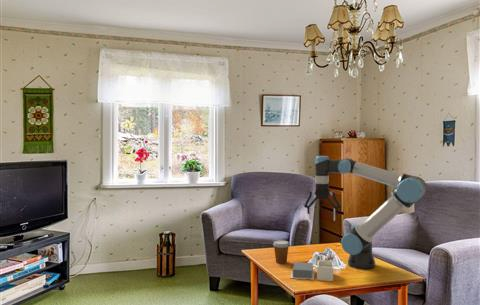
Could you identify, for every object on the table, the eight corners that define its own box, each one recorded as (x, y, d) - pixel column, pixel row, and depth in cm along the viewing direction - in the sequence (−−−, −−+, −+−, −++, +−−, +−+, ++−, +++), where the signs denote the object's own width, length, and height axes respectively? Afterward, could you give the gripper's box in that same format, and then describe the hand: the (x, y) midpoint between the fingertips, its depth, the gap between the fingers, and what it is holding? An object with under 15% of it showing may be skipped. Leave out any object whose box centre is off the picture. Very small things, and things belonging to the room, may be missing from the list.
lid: (312, 270, 225) (312, 263, 225) (311, 278, 212) (311, 270, 212) (294, 269, 227) (294, 262, 227) (292, 276, 214) (292, 269, 214)
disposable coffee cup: (287, 265, 235) (287, 244, 235) (271, 263, 238) (271, 243, 238) (291, 260, 244) (290, 240, 244) (275, 259, 247) (275, 239, 247)
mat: (314, 270, 226) (314, 269, 226) (313, 280, 210) (313, 279, 210) (293, 268, 229) (293, 268, 229) (290, 278, 213) (290, 277, 213)
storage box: (333, 273, 220) (333, 261, 219) (333, 281, 209) (333, 267, 208) (317, 272, 221) (317, 260, 221) (317, 280, 210) (317, 266, 210)
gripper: (299, 183, 230) (299, 220, 231) (344, 184, 225) (345, 222, 226) (300, 182, 238) (300, 218, 238) (344, 182, 232) (344, 219, 233)
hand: (322, 220), depth 232 cm, fingers open, 13 cm apart
